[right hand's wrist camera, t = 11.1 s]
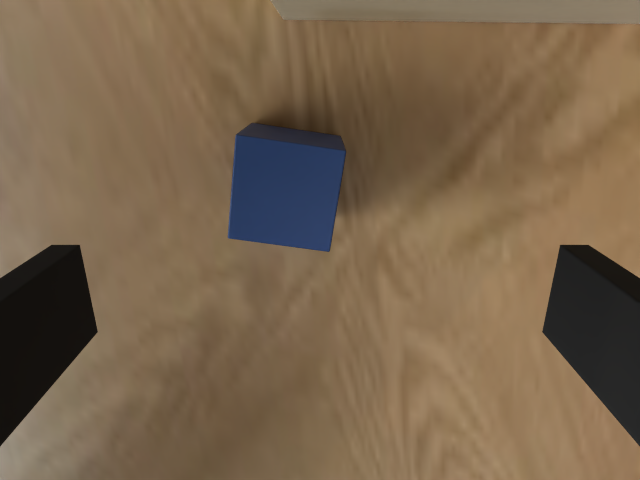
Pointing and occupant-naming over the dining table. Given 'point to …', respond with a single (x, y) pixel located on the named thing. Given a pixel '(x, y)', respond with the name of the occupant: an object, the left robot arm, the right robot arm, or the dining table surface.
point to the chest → (464, 10)
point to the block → (285, 186)
